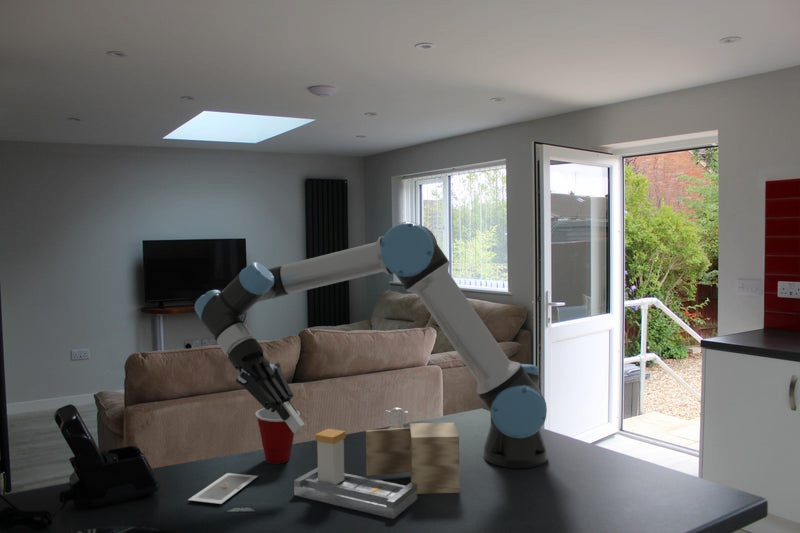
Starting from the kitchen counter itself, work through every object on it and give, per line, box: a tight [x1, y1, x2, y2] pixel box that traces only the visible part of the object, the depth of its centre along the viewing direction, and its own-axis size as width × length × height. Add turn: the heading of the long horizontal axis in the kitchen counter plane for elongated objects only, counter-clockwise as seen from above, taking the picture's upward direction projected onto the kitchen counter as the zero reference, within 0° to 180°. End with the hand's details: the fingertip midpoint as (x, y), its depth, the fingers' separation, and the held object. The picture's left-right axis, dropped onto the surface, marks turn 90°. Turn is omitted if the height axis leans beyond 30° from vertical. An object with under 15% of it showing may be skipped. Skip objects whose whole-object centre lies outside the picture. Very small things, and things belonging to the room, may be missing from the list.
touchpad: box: [187, 472, 259, 505], centre depth 129 cm, size 8×15×2 cm, turn 164°
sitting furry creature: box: [384, 406, 408, 429], centre depth 149 cm, size 10×9×12 cm
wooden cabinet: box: [365, 422, 461, 495], centre depth 131 cm, size 20×10×12 cm, turn 91°
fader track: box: [293, 466, 418, 520], centre depth 125 cm, size 24×10×3 cm, turn 61°
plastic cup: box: [254, 407, 301, 465], centre depth 147 cm, size 11×11×12 cm
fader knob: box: [314, 428, 347, 484], centre depth 127 cm, size 5×5×10 cm
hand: (299, 428), depth 131 cm, fingers closed
